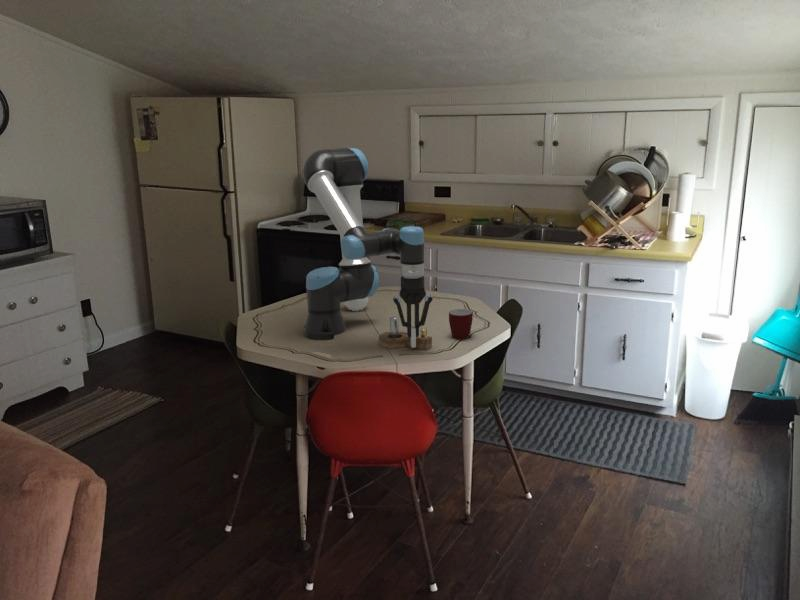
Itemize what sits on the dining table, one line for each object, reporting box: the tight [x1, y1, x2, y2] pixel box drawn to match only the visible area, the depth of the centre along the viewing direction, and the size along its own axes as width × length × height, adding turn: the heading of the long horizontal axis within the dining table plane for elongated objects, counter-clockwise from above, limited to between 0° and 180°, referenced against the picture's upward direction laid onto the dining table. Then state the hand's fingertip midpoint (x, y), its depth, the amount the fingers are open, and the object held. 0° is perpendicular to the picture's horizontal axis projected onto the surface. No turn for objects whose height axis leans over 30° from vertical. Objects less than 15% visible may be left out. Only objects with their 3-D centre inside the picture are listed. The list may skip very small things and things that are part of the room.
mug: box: [448, 308, 474, 340], centre depth 238 cm, size 11×8×10 cm
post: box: [389, 316, 400, 339], centre depth 231 cm, size 3×3×9 cm
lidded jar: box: [343, 297, 370, 312], centre depth 277 cm, size 11×11×9 cm
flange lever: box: [378, 331, 433, 351], centre depth 230 cm, size 18×10×4 cm, turn 61°
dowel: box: [419, 327, 428, 338], centre depth 231 cm, size 2×2×5 cm
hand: (413, 346), depth 225 cm, fingers closed
